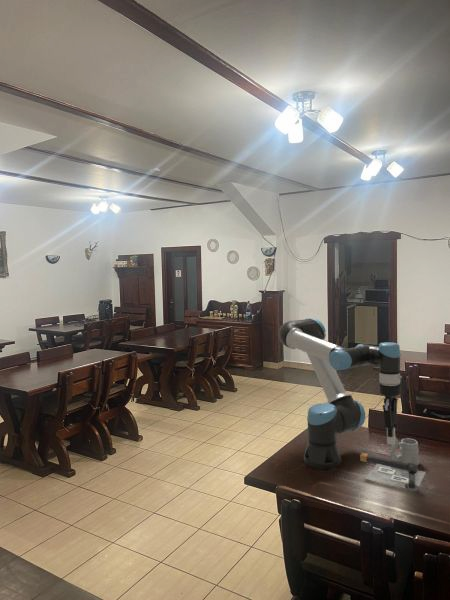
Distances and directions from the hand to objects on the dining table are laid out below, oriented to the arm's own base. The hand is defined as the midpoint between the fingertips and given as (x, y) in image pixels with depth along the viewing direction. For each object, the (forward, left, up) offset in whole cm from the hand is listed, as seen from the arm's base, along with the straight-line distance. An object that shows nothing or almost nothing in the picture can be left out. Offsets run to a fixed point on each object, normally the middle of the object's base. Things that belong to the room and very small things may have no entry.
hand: (391, 443), depth 174 cm
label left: (-2, +1, -12) cm, 12 cm away
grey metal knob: (+9, -7, -13) cm, 17 cm away
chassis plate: (+2, 0, -13) cm, 13 cm away
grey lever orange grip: (+1, -6, -6) cm, 9 cm away
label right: (+4, -3, -12) cm, 13 cm away
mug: (+2, +12, -13) cm, 18 cm away
